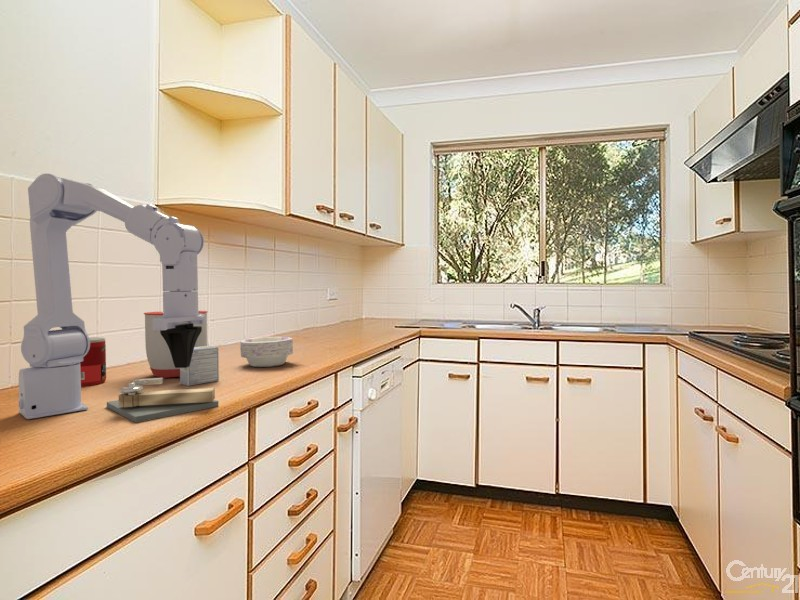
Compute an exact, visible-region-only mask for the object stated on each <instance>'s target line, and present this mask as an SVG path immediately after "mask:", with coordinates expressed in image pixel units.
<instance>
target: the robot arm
mask: <svg viewBox="0 0 800 600" xmlns="http://www.w3.org/2000/svg"><path fill="white" fill-rule="evenodd" d="M27 195H28V207H29V214H30V215H29V216H30V218H29V230H30V240H31V243H30V244H31V253H32V254H31V255H32V264H33V266H32V267H33V276H34V287H35V289H34V290H35V298H36V300H35V301H36V308H37V309H36V310H37V314H36V316H34V317H33V318H32V319H31V320H29V321H28V322H27V323H26V324H25V325H23V338H22V340H21V345H20V350H21V354H22V357H23V359H24V360H25V361H26V363H28V364H29V367H24V368H20V370H19V372H18V408H19V409H18V412H19V414H20V415H22V416H23V417H24V418H25V419H26V420H33V419H37V418H43V417H44V418H45V417H50V416H56V415H62V414H67V413H74V412H80V411H86V410H88V409H89V406H88V405H86V404H84V403H83V402H82V386H81V371H80V362H82V361H83V357H84V356H85V355H86V354H87V353H88V351H89V349H90V339H89V338H90V336H89V334H88V332H87V330H86V327H85V326H86V325H85V321H84V320H83V319H82V318H81V317H79V316H78V315H77V314H76V313H74V311H73V310H74V309H73V302H72V287H71V280H70V279H71V276H70V275H71V274H70V265H69V252H68V241H67V232H68V230H69V229H71V227H74V226H76V225H78V224H79V223H81V222H83V221H85V220H86V219H89V217H92V216H93V215H95V214H96V213H97V212H102V213H103V214H106V215H108V216H110V217H112V218H114V219H117V220H119V221H121V222H122V223H124V226H125V227H124V228H125V230H126V231H127V232H128V233H130V234H132V235H134V236H135V237H138V238H140V239H141V240H143V241H145V242H147V243H149V244H151V245H152V246H154V248H155V250H156V251H157V253H158V255H159V262H161V265H162V266H161V269H162V271H161V272H162V312H163V317H159V318H155V319H152V321H153V330H160V334H161V335H162V337H163V338H164V340H165V341H166V343H167V345H168V347H169V350H170V353H171V356H172V359H173V363H174V366H175V368H187V367H189V366H190V363H191V358H192V354H193V350H194V346H195V343H196V341H197V339H198V336H199V335H200V333H201V331H202V327H201V326H193V325H196V324H205V323H206V319H205V314H198V311H199V292H198V291H199V284H198V283H199V279H198V278H199V277H198V275H199V274H198V273H199V272H198V271H199V270H198V255H199V254H200V253H201V252H202V250H203V247H204V243H205V241H204V236H203V234H202V232H201V231H200V230H199V229H198V228H196V227H195V226H194V225H191V224H181V223H180V222H179V218H178V217H175V216H171V215H170V216H168V215H165V214H163V213H162V212H159V211H158V209H159V207H157V206H156V205H153V204H150V203H147V204H146V205H145V204H137V205H135V206H134V205H132V204H130V203H128V202H127V201H125V200H123V199H121V198H119V197H118V196H116V195H114V194H113V193H111V192H109V191H108V190H105V189H103V188H102V187H98V186H95V185H93V184H92V183H88V182H87V183H85V182H80V181H76V180H73V179H68V178H64V177H61V176H57V175H54V174H51V173H42V174H40V175H39V176H37V177H36V178H35V179H34V180H33V182H31V184H30V185H29V186H28V187H27ZM181 322H189V323H182V324H181ZM174 324H176V325H174ZM54 328H60V329H54ZM52 329H53V330H52Z"/></svg>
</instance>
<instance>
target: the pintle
mask: <svg viewBox="0 0 800 600" xmlns="http://www.w3.org/2000/svg"><path fill="white" fill-rule="evenodd" d="M140 391H142V386H135V383H133V382H127V386H125V387H124V386H123V387H121V388H120V394H122V393H128V395H134V394H135V392H140ZM133 407H136V406H133ZM133 407H128V408H133Z"/></svg>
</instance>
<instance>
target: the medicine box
mask: <svg viewBox="0 0 800 600" xmlns="http://www.w3.org/2000/svg"><path fill="white" fill-rule="evenodd" d="M219 357H220V356H219V347H218V346H214V345H207V346H201V347H194V350H193V354H192V358H191V363H190V366H189V367H187V368H180V376H179V378H180V379H179V382H180V384H181V385H183V386H187V387H189V386H195V385H200V384H202V385H203V384H206V383H212V382H218V381H219V380H220V375H219V374H220V371H219V368H220V365H219V362H220V361H219Z"/></svg>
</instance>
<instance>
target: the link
mask: <svg viewBox="0 0 800 600" xmlns="http://www.w3.org/2000/svg"><path fill="white" fill-rule="evenodd" d="M215 390H216V389H215V387H211V388H208V387H207V388H191V389H189V388H188V389H187V388H186V389H170V390H169V389H168V390H152V391H151V390H149V391H143V392H141V391H140V392H135V394H134V395H128V393H119V394H118V400H119V406H120V407H133V406H143V405H161V404H179V403H198V402H212V401H213V400H216V391H215Z"/></svg>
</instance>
